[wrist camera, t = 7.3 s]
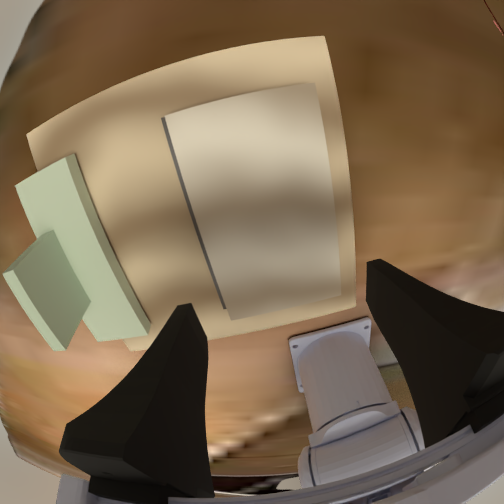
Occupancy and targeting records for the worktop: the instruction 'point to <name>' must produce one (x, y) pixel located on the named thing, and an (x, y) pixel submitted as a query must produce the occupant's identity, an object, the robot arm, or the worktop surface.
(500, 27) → the figurine
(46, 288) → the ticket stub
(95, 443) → the robot arm
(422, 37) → the worktop surface
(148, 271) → the board
